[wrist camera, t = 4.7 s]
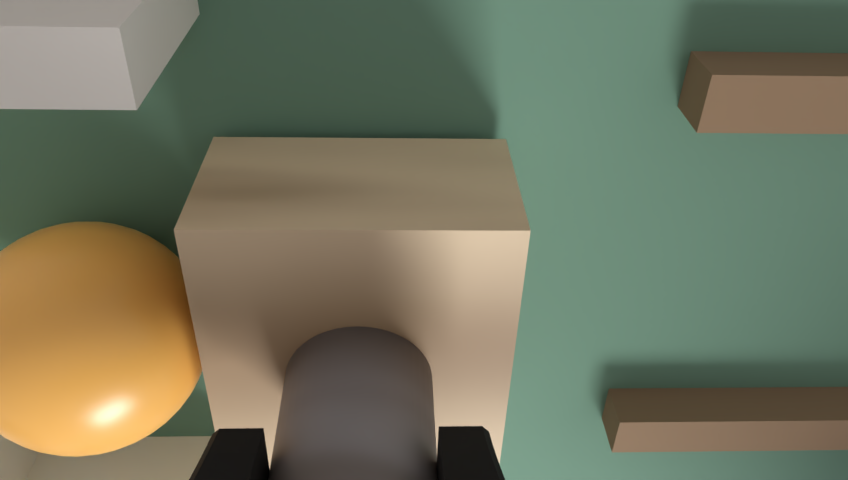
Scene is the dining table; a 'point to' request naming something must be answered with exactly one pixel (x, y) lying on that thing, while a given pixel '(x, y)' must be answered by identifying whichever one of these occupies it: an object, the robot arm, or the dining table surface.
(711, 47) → the pitch
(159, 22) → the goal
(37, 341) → the ball
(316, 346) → the beige block
